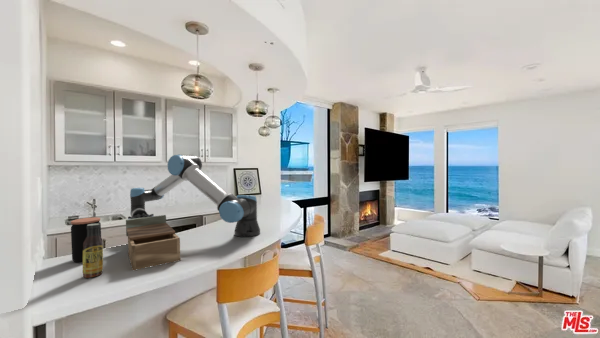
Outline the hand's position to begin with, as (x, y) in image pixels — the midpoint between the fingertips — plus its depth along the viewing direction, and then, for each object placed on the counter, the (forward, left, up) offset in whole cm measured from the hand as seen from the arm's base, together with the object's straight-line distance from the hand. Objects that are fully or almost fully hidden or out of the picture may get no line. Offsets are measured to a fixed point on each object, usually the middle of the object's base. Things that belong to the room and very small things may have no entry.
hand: (144, 222), depth 141 cm
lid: (-11, +6, -5) cm, 14 cm away
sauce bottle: (-16, +33, -13) cm, 39 cm away
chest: (-21, +11, -12) cm, 27 cm away
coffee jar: (+7, +23, -13) cm, 27 cm away
